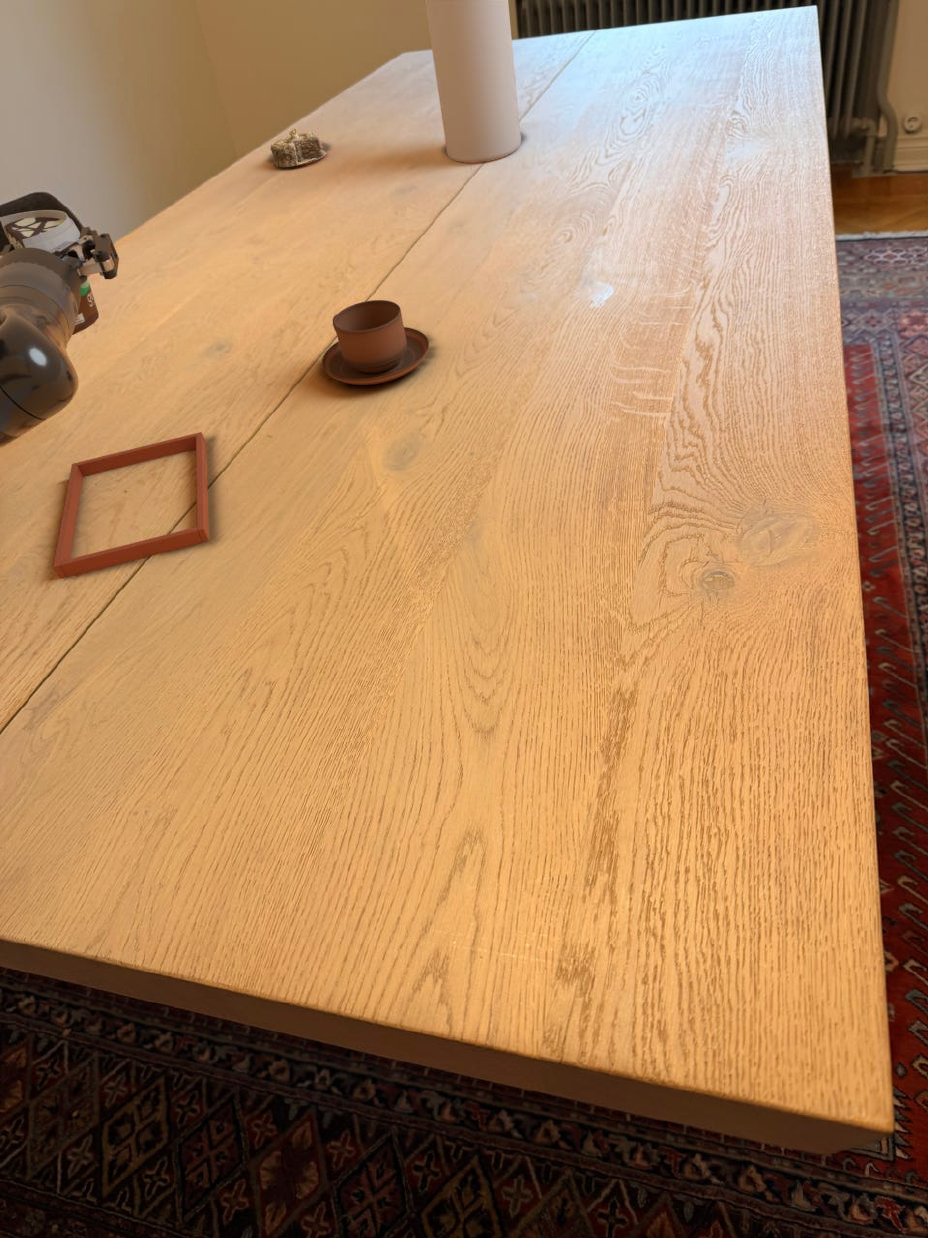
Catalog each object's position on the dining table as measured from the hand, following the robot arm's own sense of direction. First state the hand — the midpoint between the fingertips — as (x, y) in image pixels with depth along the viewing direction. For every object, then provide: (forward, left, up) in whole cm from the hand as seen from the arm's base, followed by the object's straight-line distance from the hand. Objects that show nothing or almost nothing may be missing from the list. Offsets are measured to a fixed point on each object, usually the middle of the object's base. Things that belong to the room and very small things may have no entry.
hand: (52, 245), depth 93 cm
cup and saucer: (+30, -8, -18) cm, 36 cm away
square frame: (+4, -26, -18) cm, 32 cm away
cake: (+29, +78, -18) cm, 85 cm away
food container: (0, -2, -7) cm, 7 cm away
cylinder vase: (+59, +59, -18) cm, 85 cm away
